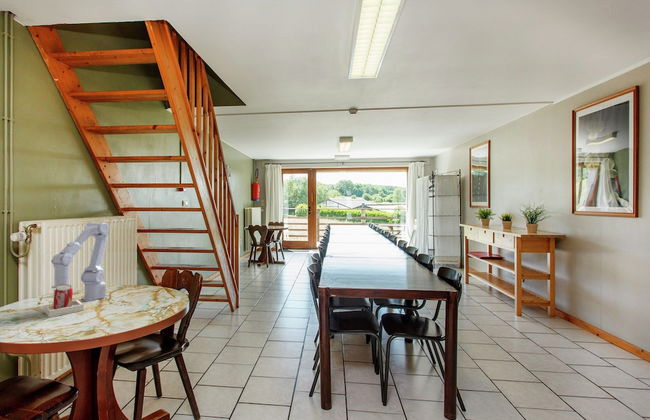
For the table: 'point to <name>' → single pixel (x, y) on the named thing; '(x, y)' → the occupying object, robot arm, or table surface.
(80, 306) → the frame
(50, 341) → the table surface
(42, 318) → the table surface
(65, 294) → the soda can
